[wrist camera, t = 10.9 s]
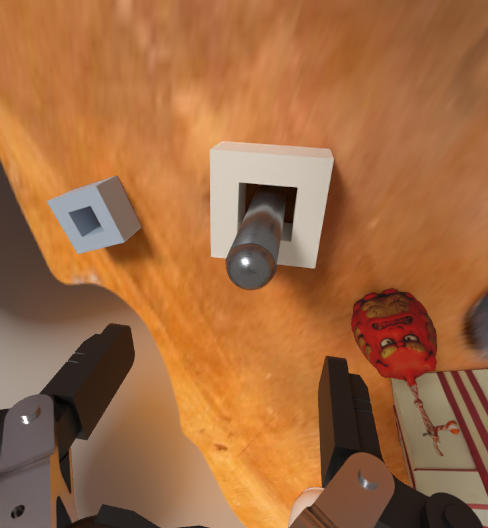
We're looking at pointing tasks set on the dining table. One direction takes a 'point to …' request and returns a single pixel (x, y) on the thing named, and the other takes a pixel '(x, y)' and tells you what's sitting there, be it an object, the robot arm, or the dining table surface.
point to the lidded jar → (304, 502)
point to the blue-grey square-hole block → (96, 215)
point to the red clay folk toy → (399, 344)
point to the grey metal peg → (258, 240)
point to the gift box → (447, 435)
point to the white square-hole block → (270, 173)
